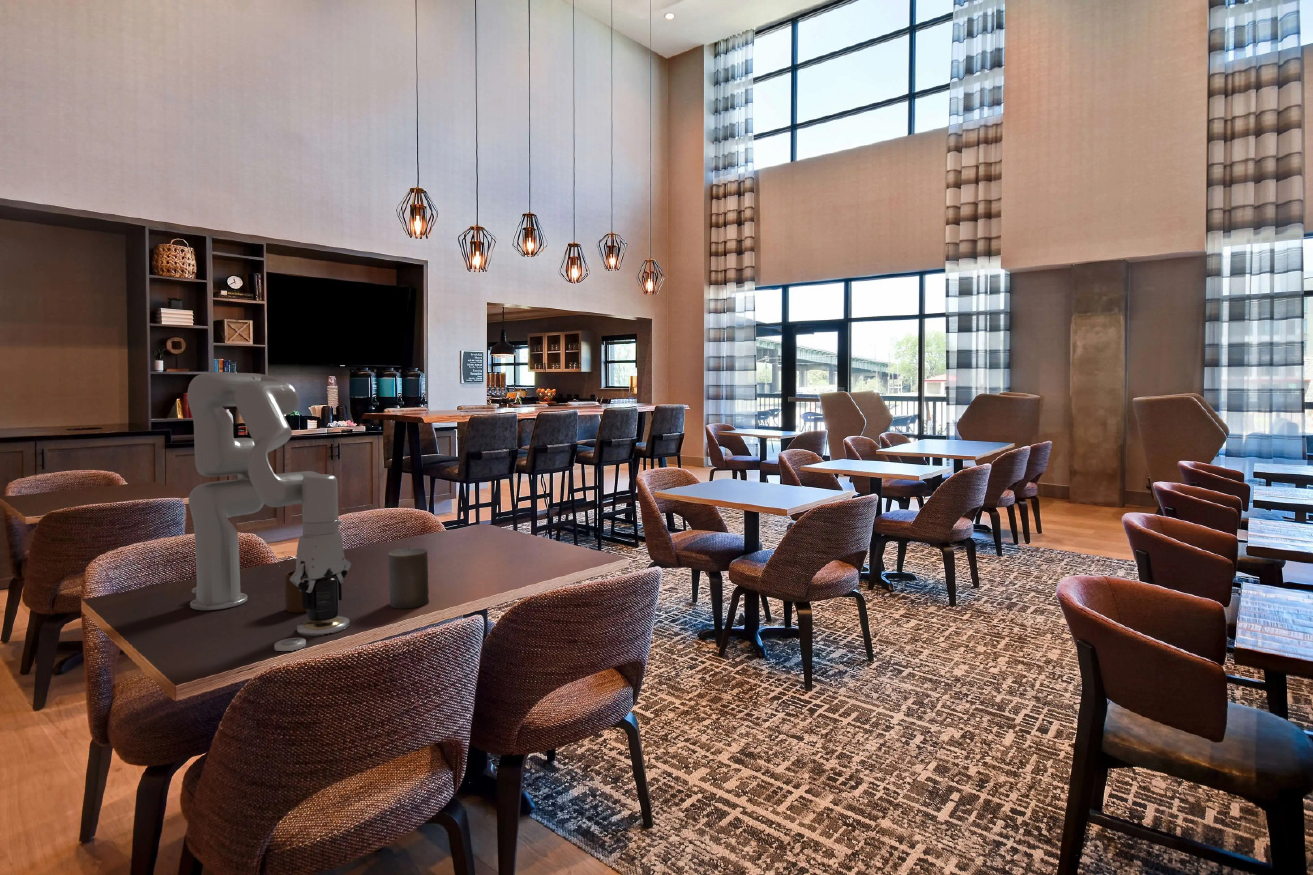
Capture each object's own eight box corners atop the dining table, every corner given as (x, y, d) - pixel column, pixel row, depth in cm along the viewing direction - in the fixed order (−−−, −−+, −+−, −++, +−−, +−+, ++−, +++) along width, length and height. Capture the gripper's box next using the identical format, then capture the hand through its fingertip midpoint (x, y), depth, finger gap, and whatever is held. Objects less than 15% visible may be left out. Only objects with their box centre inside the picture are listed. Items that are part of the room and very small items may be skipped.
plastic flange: (268, 649, 152) (267, 644, 152) (292, 640, 157) (292, 635, 157) (287, 653, 149) (287, 648, 149) (312, 644, 155) (312, 639, 155)
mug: (330, 599, 188) (329, 564, 188) (341, 605, 183) (340, 569, 182) (281, 608, 180) (280, 572, 180) (291, 615, 175) (290, 577, 174)
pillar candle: (436, 601, 187) (435, 544, 186) (406, 611, 178) (405, 551, 178) (411, 596, 192) (410, 541, 191) (381, 605, 183) (379, 548, 183)
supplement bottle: (344, 613, 169) (343, 563, 168) (329, 622, 162) (327, 570, 161) (317, 612, 170) (316, 562, 169) (300, 621, 163) (299, 569, 162)
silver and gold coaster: (286, 631, 163) (286, 626, 163) (326, 617, 173) (326, 612, 173) (320, 638, 159) (320, 633, 159) (359, 624, 169) (359, 619, 169)
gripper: (339, 520, 174) (341, 592, 175) (275, 533, 158) (277, 612, 159) (362, 523, 171) (363, 596, 172) (299, 536, 155) (301, 617, 156)
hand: (322, 603), depth 166 cm, fingers closed on supplement bottle, 6 cm apart
